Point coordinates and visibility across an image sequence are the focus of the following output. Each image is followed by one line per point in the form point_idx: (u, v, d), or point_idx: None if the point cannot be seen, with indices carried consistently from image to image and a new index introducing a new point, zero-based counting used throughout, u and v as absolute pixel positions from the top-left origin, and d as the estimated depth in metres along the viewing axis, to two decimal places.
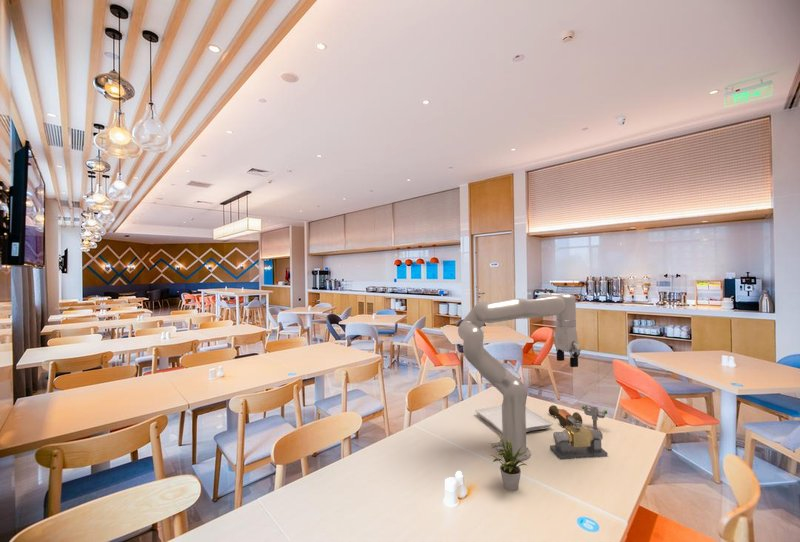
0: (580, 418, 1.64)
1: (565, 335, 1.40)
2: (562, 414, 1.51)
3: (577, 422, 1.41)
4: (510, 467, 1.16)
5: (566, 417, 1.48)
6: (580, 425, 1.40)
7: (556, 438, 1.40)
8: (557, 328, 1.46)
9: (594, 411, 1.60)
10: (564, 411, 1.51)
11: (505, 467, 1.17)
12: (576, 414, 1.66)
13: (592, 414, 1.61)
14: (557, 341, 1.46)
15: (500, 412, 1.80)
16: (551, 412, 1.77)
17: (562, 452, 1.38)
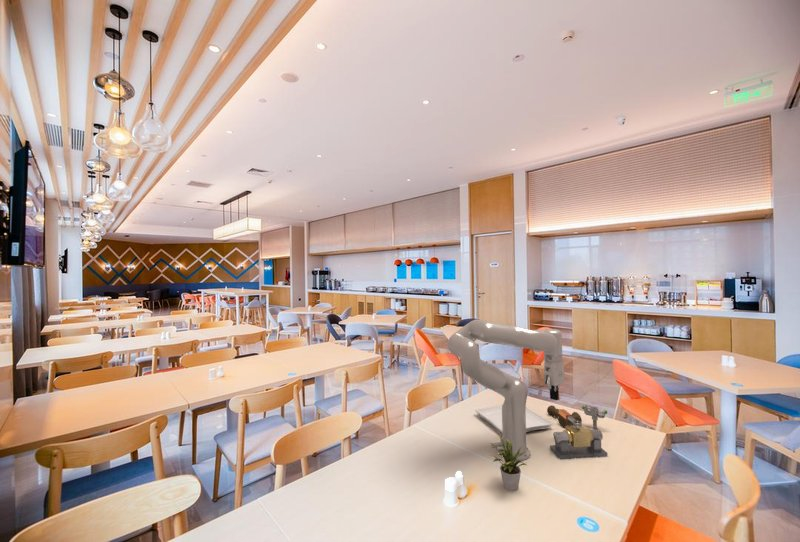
0: (579, 418, 1.64)
1: (563, 366, 1.49)
2: (562, 414, 1.51)
3: (577, 422, 1.41)
4: (510, 467, 1.16)
5: (566, 417, 1.48)
6: (580, 425, 1.40)
7: (556, 438, 1.40)
8: (556, 365, 1.46)
9: (594, 411, 1.60)
10: (564, 411, 1.51)
11: (505, 467, 1.17)
12: (575, 414, 1.66)
13: (592, 414, 1.61)
14: (557, 378, 1.46)
15: (500, 412, 1.80)
16: (550, 412, 1.77)
17: (562, 452, 1.38)
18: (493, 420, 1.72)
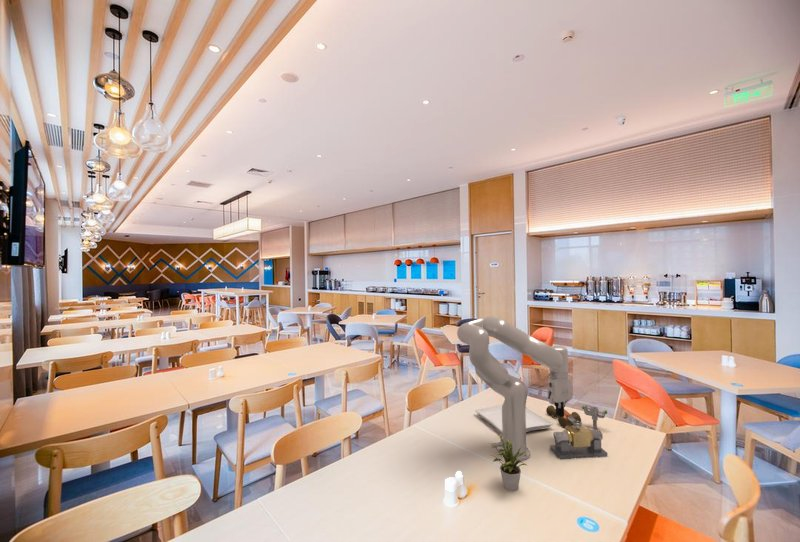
0: (579, 418, 1.65)
1: (569, 384, 1.49)
2: None
3: (577, 422, 1.41)
4: (510, 467, 1.16)
5: (566, 417, 1.48)
6: (580, 425, 1.40)
7: (556, 438, 1.40)
8: (559, 382, 1.47)
9: (594, 411, 1.60)
10: (564, 411, 1.51)
11: (505, 467, 1.17)
12: (575, 414, 1.66)
13: (592, 414, 1.61)
14: (560, 395, 1.47)
15: (500, 412, 1.80)
16: (549, 412, 1.77)
17: (562, 452, 1.38)
18: (493, 420, 1.72)
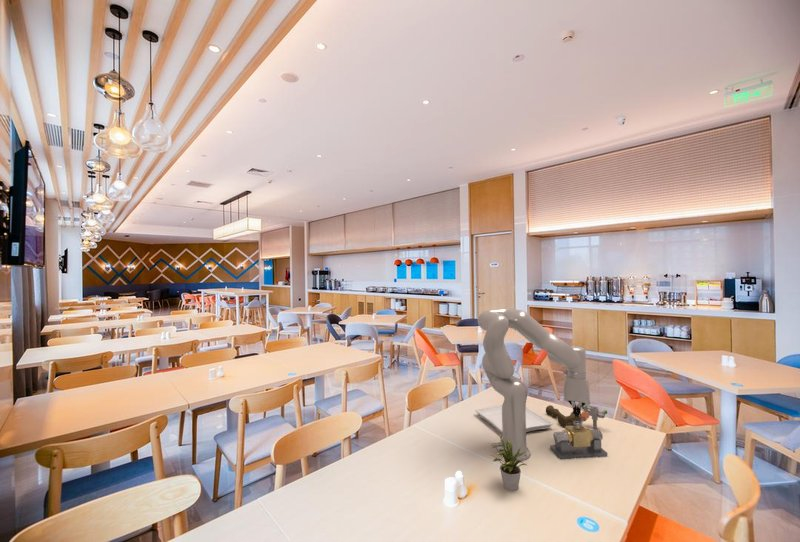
0: (578, 417, 1.65)
1: (585, 386, 1.46)
2: None
3: (575, 421, 1.41)
4: (510, 467, 1.16)
5: None
6: (577, 425, 1.40)
7: (556, 438, 1.40)
8: (570, 380, 1.49)
9: (594, 411, 1.60)
10: (585, 413, 1.49)
11: (505, 467, 1.17)
12: None
13: (592, 414, 1.61)
14: (570, 393, 1.49)
15: (500, 412, 1.80)
16: (548, 412, 1.77)
17: (562, 452, 1.38)
18: (493, 420, 1.72)
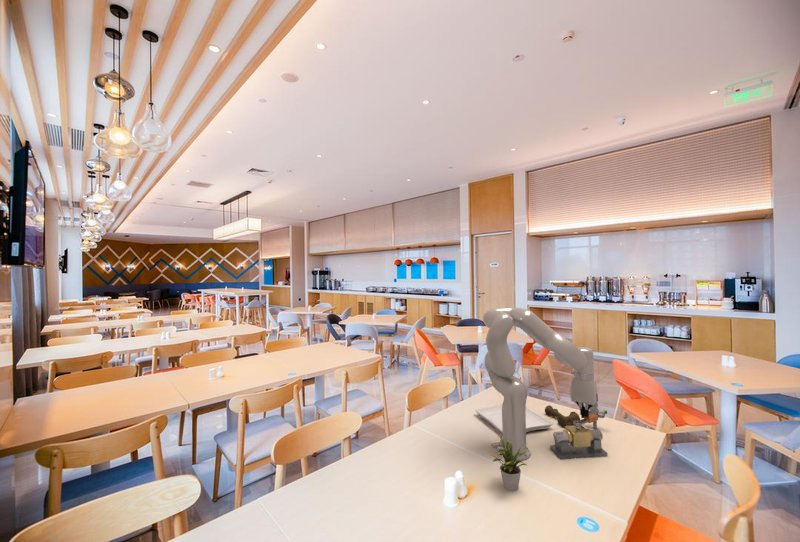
0: (578, 417, 1.65)
1: (590, 388, 1.44)
2: None
3: (575, 421, 1.41)
4: (510, 467, 1.16)
5: None
6: (576, 425, 1.40)
7: (556, 438, 1.40)
8: (576, 381, 1.48)
9: (594, 411, 1.60)
10: (592, 416, 1.46)
11: (505, 467, 1.17)
12: (574, 413, 1.67)
13: None
14: (576, 394, 1.48)
15: (500, 412, 1.80)
16: (547, 412, 1.77)
17: (562, 452, 1.38)
18: (493, 420, 1.72)
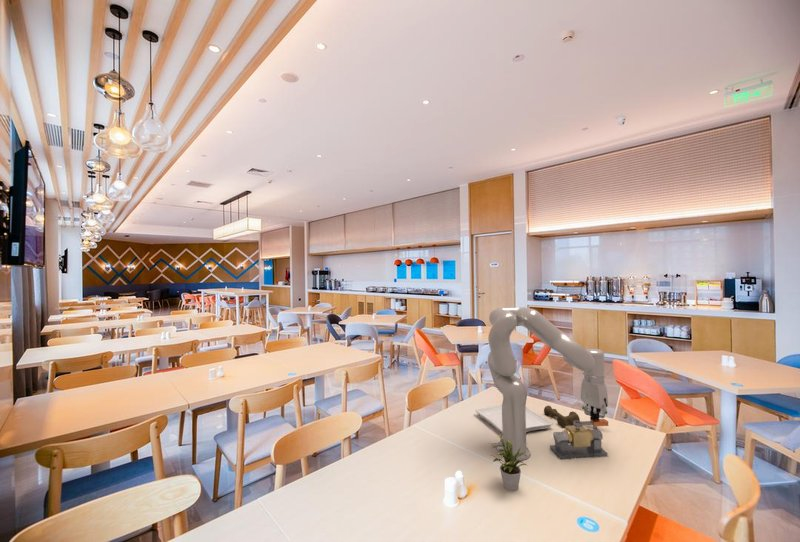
0: (577, 417, 1.65)
1: (596, 391, 1.41)
2: None
3: (575, 421, 1.42)
4: (510, 467, 1.16)
5: None
6: (574, 424, 1.41)
7: (556, 438, 1.40)
8: (585, 383, 1.46)
9: None
10: (601, 420, 1.42)
11: (505, 467, 1.17)
12: (573, 413, 1.67)
13: None
14: (585, 396, 1.46)
15: (500, 412, 1.80)
16: (546, 412, 1.76)
17: (562, 452, 1.38)
18: (493, 420, 1.72)
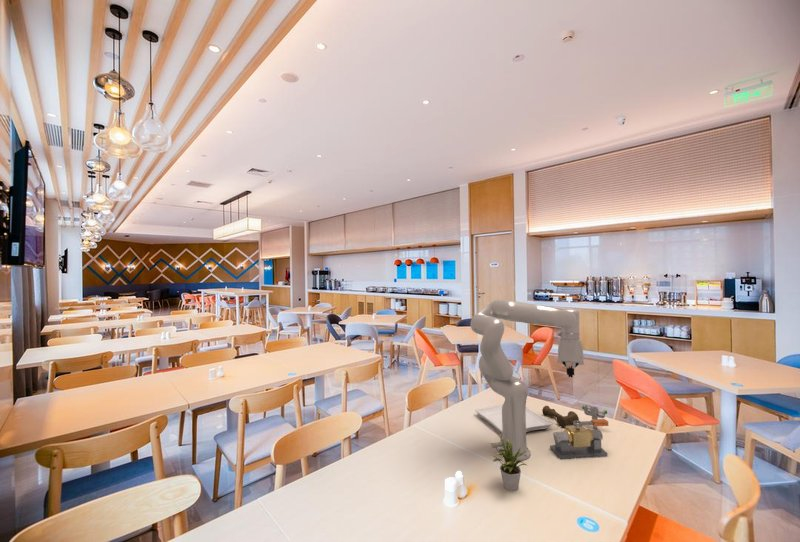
0: (576, 417, 1.65)
1: (579, 347, 1.50)
2: None
3: (575, 421, 1.42)
4: (510, 467, 1.16)
5: None
6: (574, 424, 1.41)
7: (556, 438, 1.40)
8: (565, 342, 1.52)
9: (594, 411, 1.60)
10: (601, 420, 1.42)
11: (505, 467, 1.17)
12: (572, 413, 1.67)
13: (592, 414, 1.61)
14: (565, 354, 1.52)
15: (500, 412, 1.80)
16: (545, 413, 1.76)
17: (562, 452, 1.38)
18: (493, 420, 1.72)
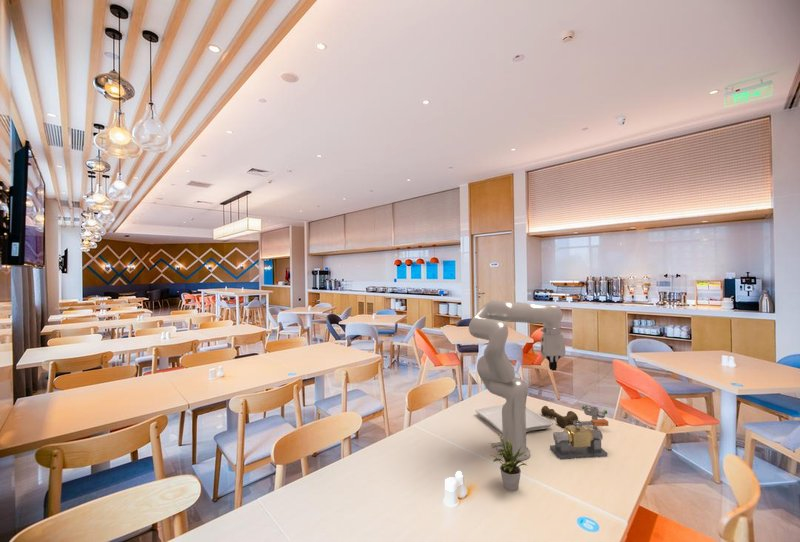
0: (576, 416, 1.66)
1: (562, 340, 1.58)
2: None
3: (575, 421, 1.42)
4: (510, 467, 1.16)
5: None
6: (574, 424, 1.41)
7: (556, 438, 1.40)
8: (550, 337, 1.57)
9: (594, 411, 1.60)
10: (601, 420, 1.42)
11: (505, 467, 1.17)
12: (571, 413, 1.67)
13: (592, 414, 1.61)
14: (551, 349, 1.57)
15: (500, 412, 1.80)
16: (544, 413, 1.76)
17: (562, 452, 1.38)
18: (493, 420, 1.72)
